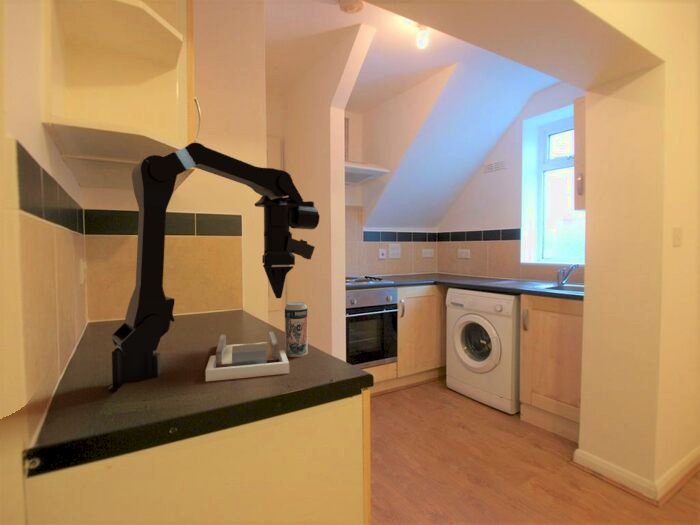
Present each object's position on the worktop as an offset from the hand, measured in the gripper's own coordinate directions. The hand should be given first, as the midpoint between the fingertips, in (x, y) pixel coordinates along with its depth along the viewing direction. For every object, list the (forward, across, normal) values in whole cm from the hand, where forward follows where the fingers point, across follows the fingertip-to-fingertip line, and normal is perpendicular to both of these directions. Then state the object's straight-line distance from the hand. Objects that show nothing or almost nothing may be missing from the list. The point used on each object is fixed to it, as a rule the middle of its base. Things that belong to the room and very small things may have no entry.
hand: (277, 295), depth 81 cm
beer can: (+13, -7, -4) cm, 15 cm away
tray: (+13, -14, +6) cm, 20 cm away
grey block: (+12, -14, +6) cm, 20 cm away
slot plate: (+13, -2, +6) cm, 15 cm away
